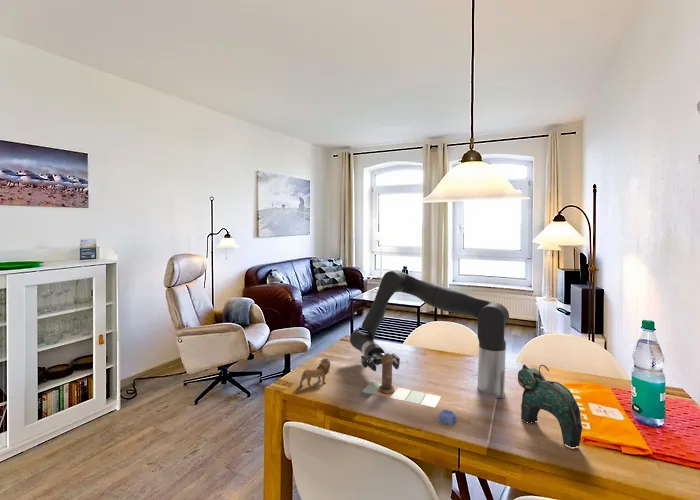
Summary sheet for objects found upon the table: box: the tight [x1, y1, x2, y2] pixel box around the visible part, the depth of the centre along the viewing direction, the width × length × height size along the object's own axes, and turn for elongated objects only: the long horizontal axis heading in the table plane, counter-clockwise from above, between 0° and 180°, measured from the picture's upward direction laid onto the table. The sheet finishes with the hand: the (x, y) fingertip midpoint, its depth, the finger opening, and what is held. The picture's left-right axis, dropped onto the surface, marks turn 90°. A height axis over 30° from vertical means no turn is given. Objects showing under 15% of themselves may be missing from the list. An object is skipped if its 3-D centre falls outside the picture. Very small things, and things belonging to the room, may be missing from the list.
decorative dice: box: [438, 409, 457, 426], centre depth 114 cm, size 4×4×4 cm
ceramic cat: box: [517, 364, 583, 447], centre depth 111 cm, size 20×6×20 cm, turn 21°
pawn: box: [378, 352, 395, 395], centre depth 134 cm, size 6×6×14 cm
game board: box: [360, 381, 442, 409], centre depth 132 cm, size 27×10×1 cm, turn 64°
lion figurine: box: [298, 357, 331, 389], centre depth 143 cm, size 15×5×9 cm, turn 134°
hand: (386, 367), depth 135 cm, fingers open, 8 cm apart
